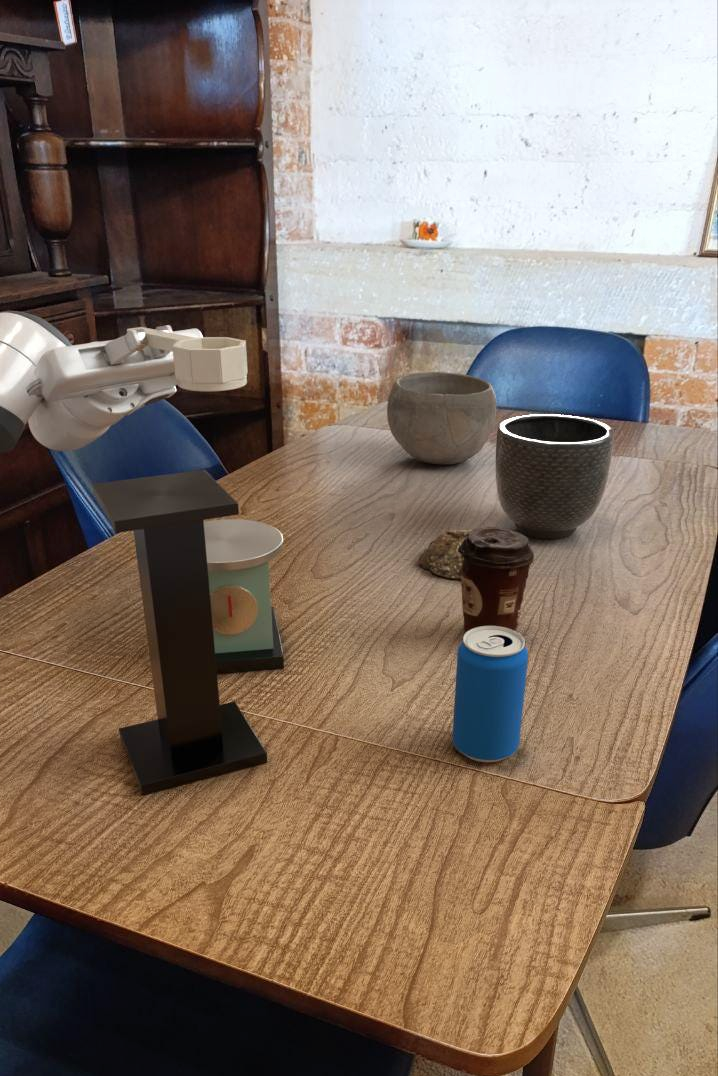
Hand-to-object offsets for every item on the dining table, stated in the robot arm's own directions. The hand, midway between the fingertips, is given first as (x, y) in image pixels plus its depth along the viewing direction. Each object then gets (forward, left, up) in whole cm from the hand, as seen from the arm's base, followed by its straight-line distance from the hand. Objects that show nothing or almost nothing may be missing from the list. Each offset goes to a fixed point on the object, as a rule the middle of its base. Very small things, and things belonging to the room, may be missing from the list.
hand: (154, 334), depth 94 cm
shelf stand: (+18, -22, -34) cm, 45 cm away
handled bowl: (+5, -1, -4) cm, 6 cm away
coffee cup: (+35, +14, -35) cm, 51 cm away
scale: (+9, -3, -34) cm, 36 cm away
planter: (+30, +52, -35) cm, 69 cm away
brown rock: (+24, +33, -35) cm, 54 cm away
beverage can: (+43, -8, -35) cm, 56 cm away
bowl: (0, +79, -35) cm, 86 cm away
